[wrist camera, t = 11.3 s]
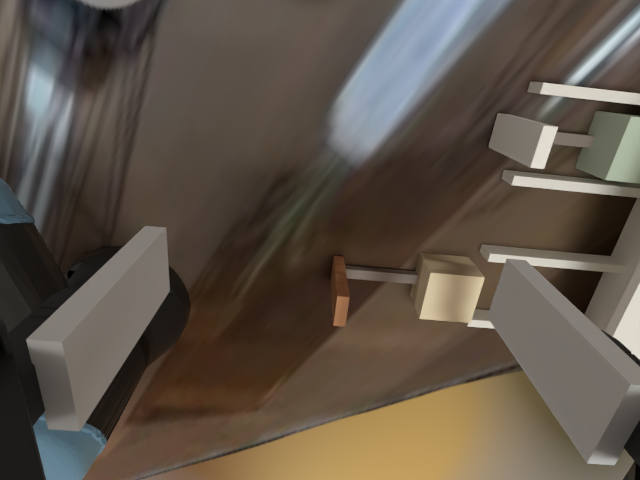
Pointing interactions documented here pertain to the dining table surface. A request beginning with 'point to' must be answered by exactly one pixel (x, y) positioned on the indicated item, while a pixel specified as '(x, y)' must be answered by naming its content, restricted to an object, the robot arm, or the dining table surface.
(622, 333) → the lane rack
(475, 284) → the birch block
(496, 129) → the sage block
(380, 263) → the dining table surface
